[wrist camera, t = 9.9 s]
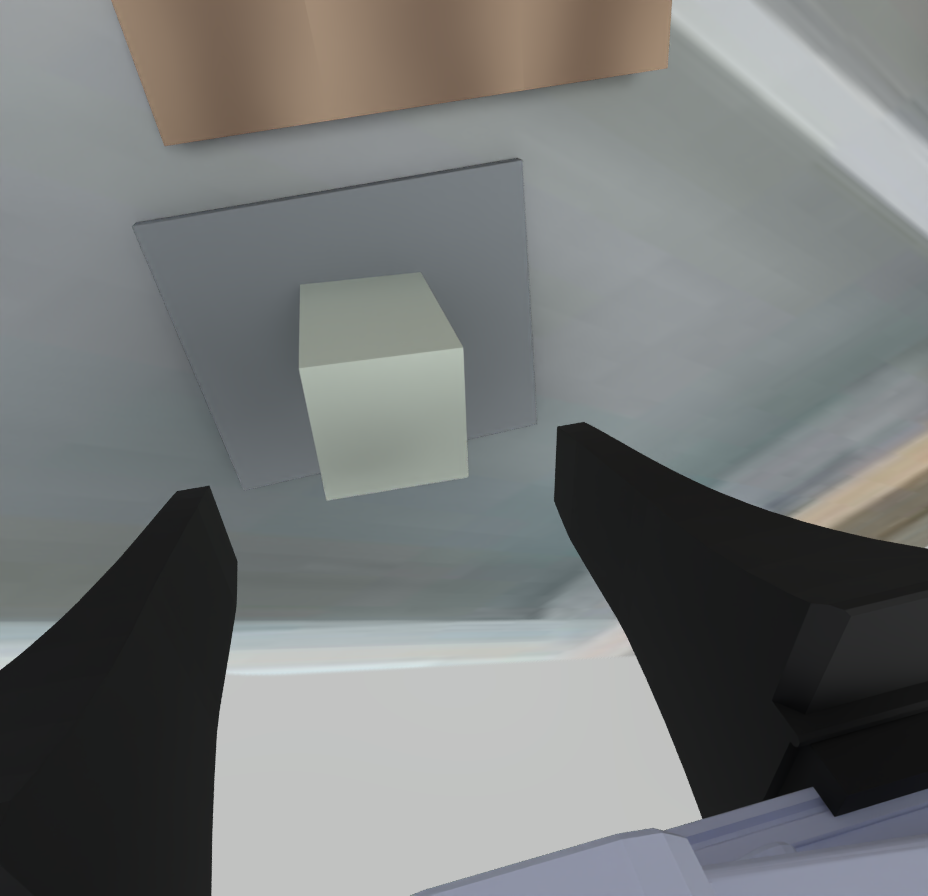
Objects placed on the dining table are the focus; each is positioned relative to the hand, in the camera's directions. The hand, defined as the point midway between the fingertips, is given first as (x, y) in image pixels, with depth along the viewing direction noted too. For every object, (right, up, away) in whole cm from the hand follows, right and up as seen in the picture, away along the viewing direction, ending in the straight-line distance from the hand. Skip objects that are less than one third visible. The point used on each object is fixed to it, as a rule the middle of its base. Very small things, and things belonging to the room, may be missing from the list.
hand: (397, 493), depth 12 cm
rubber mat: (-2, +5, +9) cm, 10 cm away
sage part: (-2, +5, +8) cm, 10 cm away
